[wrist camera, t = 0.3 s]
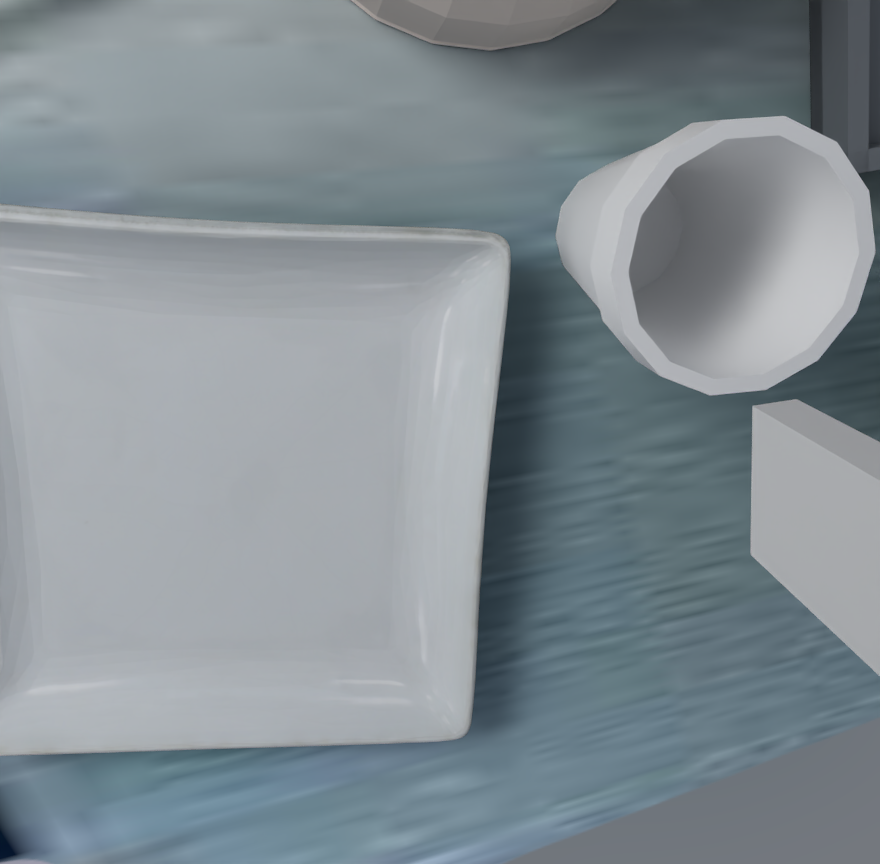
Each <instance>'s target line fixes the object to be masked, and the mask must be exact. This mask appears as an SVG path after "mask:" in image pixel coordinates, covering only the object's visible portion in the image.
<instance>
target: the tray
mask: <svg viewBox="0 0 880 864" xmlns="http://www.w3.org/2000/svg"><path fill="white" fill-rule="evenodd" d="M809 11H810V85H811V129H812V130H814V131H816V132H818V133H820V134H822V135H824V136H826V137H828V138H830V139H832V140H834V141H836V142H837V143H838V144H839V146H840V147H841V149H842V150H843V152H844V153H845V155H846V156H847V158H848V159H849V161H850V163H851V164H852V166H853V167H854V169H855V170H856V172H857V173H864V172H869V171H875V170H880V0H809Z"/></svg>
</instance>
